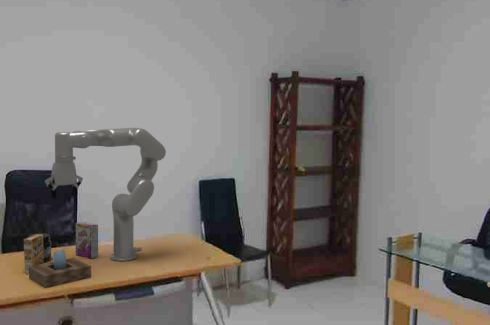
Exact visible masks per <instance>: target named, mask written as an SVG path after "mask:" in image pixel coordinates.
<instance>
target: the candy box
mask: <svg viewBox="0 0 490 325" xmlns="http://www.w3.org/2000/svg"><path fill="white" fill-rule="evenodd" d="M34 234H35V235H33V234H32V235H33V236H30V235H29V236H30V237H29V236H27V237H25V238H23V254H24V255H23V258H24V260H23V262H24V273H25V274H29V267H30V266H35V265H40V264H45V262H44V258H43V235H37V234H38V233H34Z"/></svg>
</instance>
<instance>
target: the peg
mask: <svg viewBox="0 0 490 325" xmlns="http://www.w3.org/2000/svg"><path fill="white" fill-rule="evenodd" d="M66 253H67V252H66V250H56V251H53V252H52V255H53V258H52V259H53V262H54V270H60V269H65V268H66V259H67V255H66Z"/></svg>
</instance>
